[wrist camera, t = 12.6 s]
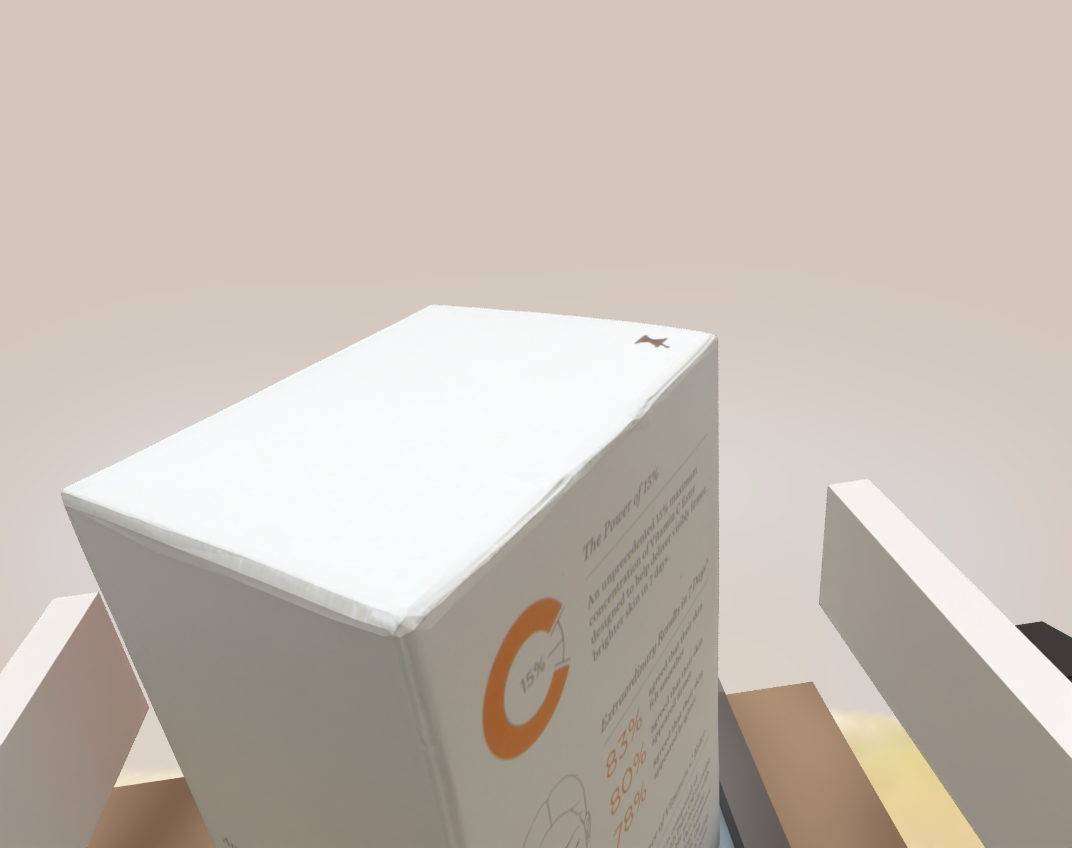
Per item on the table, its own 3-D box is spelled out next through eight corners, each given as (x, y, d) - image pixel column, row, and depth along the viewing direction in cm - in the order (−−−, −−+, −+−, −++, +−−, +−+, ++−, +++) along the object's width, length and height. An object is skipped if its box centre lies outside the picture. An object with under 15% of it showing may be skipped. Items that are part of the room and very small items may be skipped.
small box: (506, 744, 22) (432, 296, 16) (725, 844, 18) (731, 324, 13) (284, 1034, 16) (40, 483, 10) (550, 1257, 13) (412, 628, 7)
